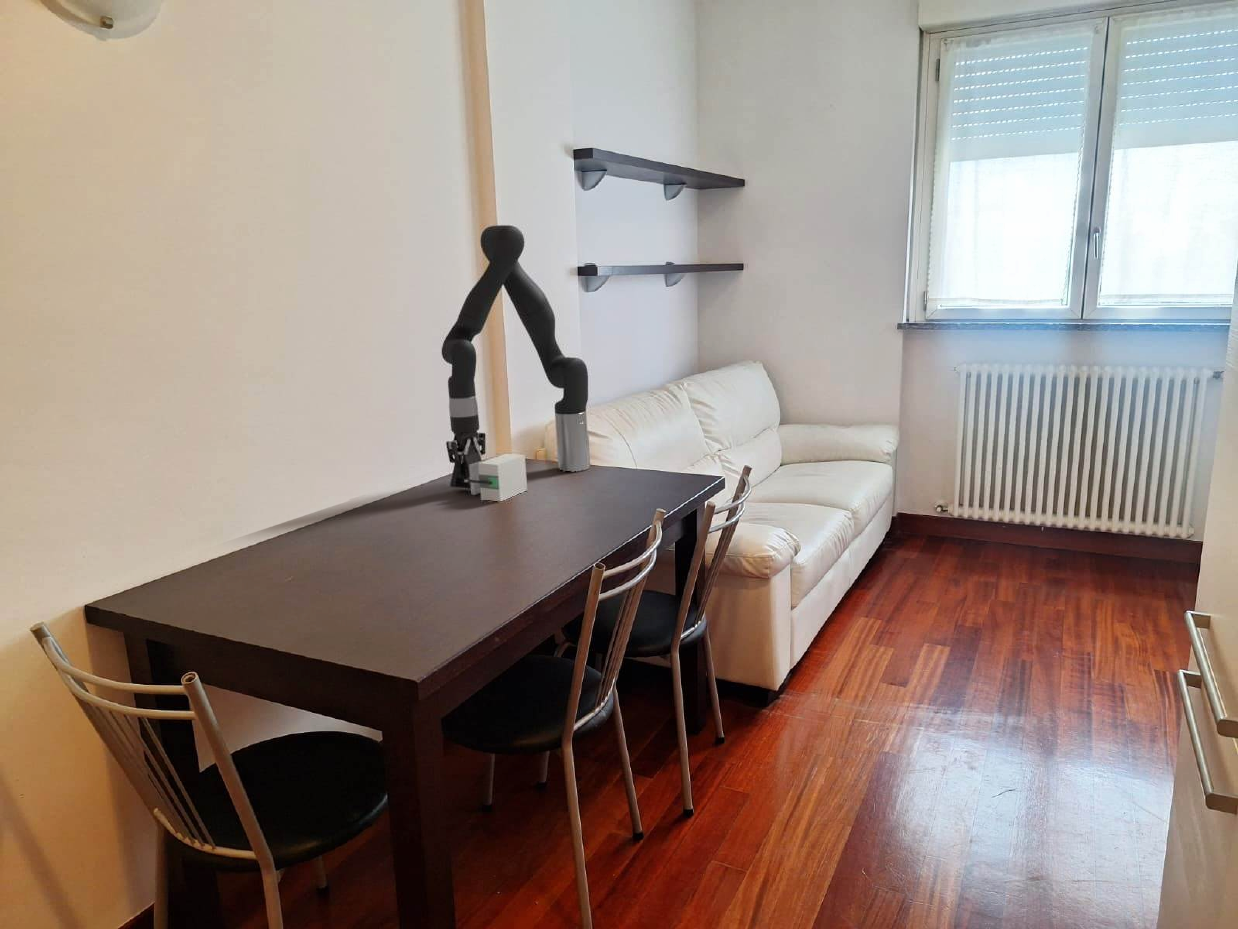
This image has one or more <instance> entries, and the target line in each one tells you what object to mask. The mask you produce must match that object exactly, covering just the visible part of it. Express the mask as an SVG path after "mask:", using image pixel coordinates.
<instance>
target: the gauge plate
mask: <svg viewBox="0 0 1238 929" xmlns="http://www.w3.org/2000/svg"><path fill="white" fill-rule="evenodd" d="M495 457H496V456H492V457H488V458H486V459H483V460H482V459H481V460H482V461H479V462H476V463H473V464H470V465H469V472H470V478H467V479H465V480H464V481H465V482H470V484H471V489H470V492H471V493H470V494H471V495H473V496H474V495H475V496H476V495H477V494H478V495H479V494H481V491H480V485H479V483H482V484H492V482H491V481H481V480H479V468H478V463H480V462H483V461H486V460H489V459H492V458H495Z"/></svg>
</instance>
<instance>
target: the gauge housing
mask: <svg viewBox="0 0 1238 929" xmlns="http://www.w3.org/2000/svg"><path fill="white" fill-rule="evenodd" d="M494 457H495V458H492V459H489V460H486V461H483V462H480V463H478V468H479V480H481V481H491V482H492V484H482V483H479V485H480V491H481V493H480V500H481V501H483V500H493V501H503V500H505V501H507V500H506V499H508V498H510V497H512V496H515V495H517V494H519V493H522V494H524V493H525V492H524V491H526V490H527V491H528V482H527V469H526V468H527V467H526V455H524V454H515V453H513V454H512V453H504V454H501V455H498V456H494ZM523 492H524V493H523ZM519 495H520V494H519ZM517 496H518V495H517ZM515 497H516V496H515ZM512 498H513V497H512ZM510 499H511V498H510ZM508 500H509V499H508ZM503 502H504V501H503Z"/></svg>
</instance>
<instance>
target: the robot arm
mask: <svg viewBox="0 0 1238 929" xmlns="http://www.w3.org/2000/svg"><path fill="white" fill-rule="evenodd" d="M522 232H523V231H521V230H520V229H519V228H518V227H516V226H515V225H510V224H509V225H508V224H504V225H503V224H501V225H491V226H487V227H486V228H485V229H484V230H483V231H482V233H481V235H480V246H481V250H482V252H483V254H484V257H485V258H486V260H488V265H487V267H486V269H485V271H484V273H483V274H482V275H481V277H480V278H479V279H478V281H477V282H476V283H475V285H474V286H473V287H472V289H471V290H470V291H469V293H468V294H467V296H466V298H465V300H464V301H463V302H464V303H463V305H462V307H461V310H460V312H459V314H458V316H457V319H456V321H455V322H454V325H452V327H451V329H450V330H449V331H448V333H447V335H446V337H445V339H444V340H443V343H442V346H441V357H442V358H443V360H444V361H445V362H446V363H448V364H450V365H451V376H449V377H448V380H447V389H448V403H449V404H448V409H449V420H450V430H451V432H452V433H453V435H454V436H453V440H451V441H449V440H447V441H446V442H445V445H446V450H447V456H448V461H449V463H451V464H456V472H457V476H458V477H462V478H463V477H465V465H464V464H463V463H464V455H465V456H467V452H468V448H469V445H470V444H472V443H473V444H474V446H475V448H476V451H477V452H478V451H479V454H480V457H481V458H482V456H483V455H484V456H485V454H486V439H487V438H486V436H487V434H486V433H485V432H478V431H479V430H480V419H479V408H478V401H477V396H476V395H477V394H476V393H477V392H476V387H475V386H476V385H475V378H476V377H475V376H476V369H477V352H476V348H475V345H474V344H473V343H472V341H473V340H474V338H475V336H477V335H479V334H481V332H482V331H483V328H484V327H485V324H486V322H487V319H488V316H489V314H490V313H491V312H490V311H491V309H492V307H493V305H494V303H495V300H496V299H497V296H498V295H499V293H500V291H501V289H502V288H503V287H504V289H505V291H506V293H507V295H508V297H509V300H510V301H511V303H512V304H513V306H514V309H515V311H516V313H517V315H518V317H519V319H520V321H521V323H522V325H523V327H524V329H525V331H527V334H528V336H529V338H530V340H531V342H532V344H533V347H534V348H535V350H536V353H537V354H538V358H539V360H540V363H541V365H542V368H543V371H544V373H545V375H546V378H547V379H548V381H549V384H551V385H552V386H553V387H555V388H557V389H563V390H562V391H563V396H562V399H560V400H558V401H557V402H555V404H554V418H555V419H554V420H555V421H554V422H555V432H556V434H555V435H556V436H555V437H556V449H557V450H556V451H557V465H558V467H557V468H559V469H560V470H563V471H562V472H565V471H571V472H570V473H572V472H574V473H575V471H576V472H583V471H586V470H588V469H589V468H590V467H591V457H590V456H591V454H590V440H589V439H590V437H589V435H588V422H587V421H588V420H587V404H588V401H589V372H588V368H587V365H586V363H585V361H584V360H583V359H581V358H579V357H570V356H569V357H566V356H565V355H564V353H563V352H562V349H561V348H560V346H559V344H558V342H557V339H556V317H555V313H554V311H553V308H552V306H551V304H550V302H549V300H548V298H547V296H546V294H545V293H544V292H543V290H542V289H541V288H540V287H539V285H538V284H537V283H536V282H535V281H534V280H533V279H532V278H531V277H530V276H529V275H528V274H527V272H525V270H524V269H523V267H522V266H521V264H520V261H519V258H520V257H521V256H522V253H523V251H524V248H525V237H524V234H523V233H522ZM458 445H459V446H458ZM462 446H464V447H465V450H464V449H463V447H462ZM457 447H458V449H459V450H460V451H463V452H458V450H457ZM459 455H461V458H460V459H459ZM559 469H558V470H559ZM560 470H559V471H560ZM582 470H583V471H582Z"/></svg>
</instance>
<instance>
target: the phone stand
mask: <svg viewBox="0 0 1238 929" xmlns="http://www.w3.org/2000/svg"><path fill="white" fill-rule="evenodd" d="M458 446H459V445H458ZM462 447H463V449H464V450H465V447H464V446H462ZM457 450H458V452H463V451H460V450H459V449H458V447H457ZM460 458H461V455H459V459H460ZM479 461H482V456H481V457H480V454H479V451H478V452H477V451H476V448H475V446H474V444H473V443H472V444H470V445H469V448H468V452H467V456H465V455H464V463H463V464H464V465H465V477H463V478H462V477H458V476H457V472H456V464H455V463H453V464H454V466H453V470H452V474H451V475H452V476H451V480H450V484H449V486H450V487H451V488H459V489H467V490H468V489H469V490H471V484H470V482H465V481H464V480H465V479H467V478H470V472H469V465H470V464H473V463H476V462H479Z"/></svg>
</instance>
